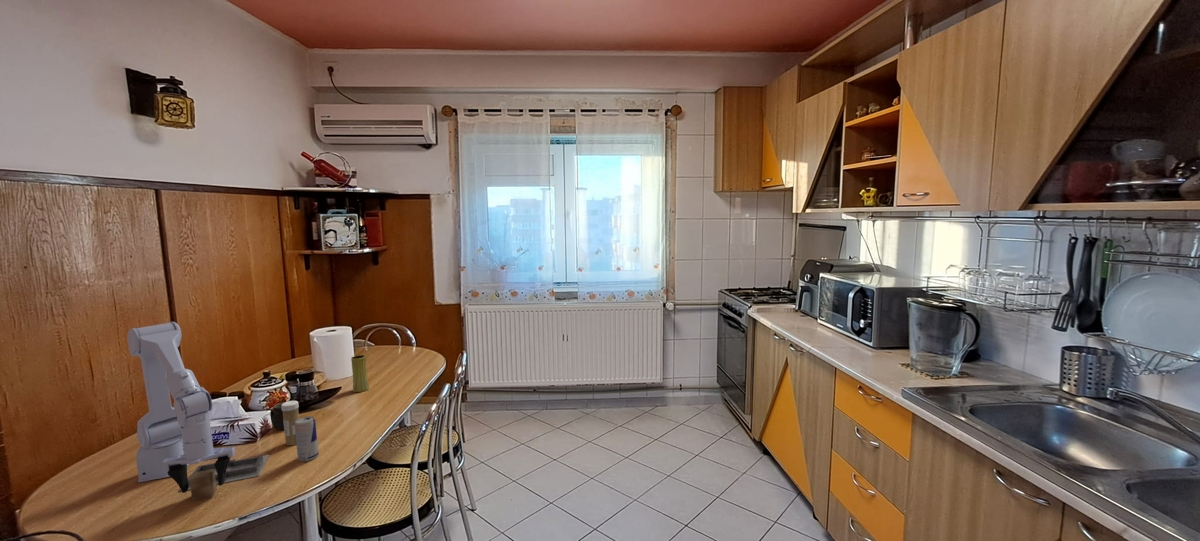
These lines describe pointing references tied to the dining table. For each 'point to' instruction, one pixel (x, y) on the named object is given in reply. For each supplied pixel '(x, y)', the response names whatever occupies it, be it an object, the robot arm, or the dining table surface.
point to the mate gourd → (278, 416)
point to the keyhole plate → (237, 469)
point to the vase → (359, 373)
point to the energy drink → (306, 438)
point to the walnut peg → (203, 485)
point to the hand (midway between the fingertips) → (203, 487)
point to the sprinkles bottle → (290, 420)
